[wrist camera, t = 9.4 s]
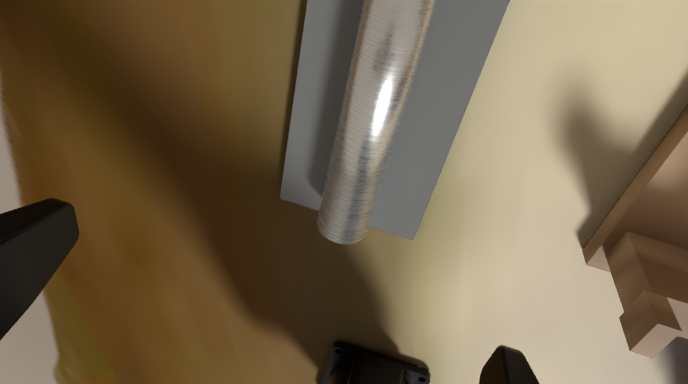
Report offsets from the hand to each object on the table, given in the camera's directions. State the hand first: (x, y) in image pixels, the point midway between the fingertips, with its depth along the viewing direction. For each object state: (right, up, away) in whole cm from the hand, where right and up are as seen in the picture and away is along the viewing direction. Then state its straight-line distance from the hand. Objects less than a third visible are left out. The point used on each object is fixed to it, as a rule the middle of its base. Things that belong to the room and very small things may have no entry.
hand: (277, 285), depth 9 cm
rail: (+3, +7, +9) cm, 11 cm away
